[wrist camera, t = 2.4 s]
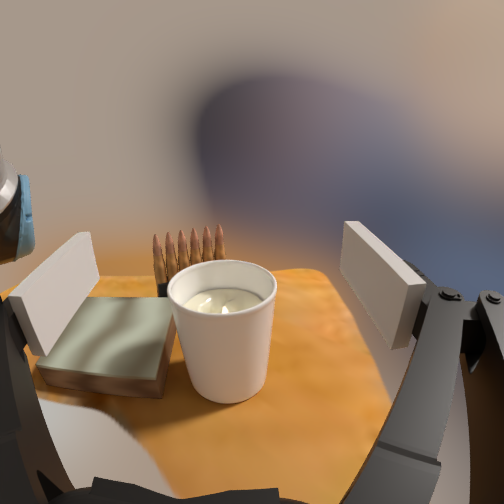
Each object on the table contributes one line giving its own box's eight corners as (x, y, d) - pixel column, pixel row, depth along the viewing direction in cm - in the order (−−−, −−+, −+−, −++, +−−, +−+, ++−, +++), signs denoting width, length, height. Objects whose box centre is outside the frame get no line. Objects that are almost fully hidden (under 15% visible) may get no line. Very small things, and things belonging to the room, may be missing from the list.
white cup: (278, 353, 36) (283, 263, 31) (264, 417, 27) (267, 321, 22) (200, 342, 38) (190, 255, 33) (171, 399, 29) (147, 305, 24)
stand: (46, 384, 28) (35, 364, 26) (86, 315, 42) (80, 296, 40) (162, 398, 29) (155, 377, 27) (179, 317, 42) (175, 297, 41)
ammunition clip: (161, 315, 43) (149, 238, 38) (159, 308, 44) (147, 233, 39) (230, 299, 47) (227, 225, 42) (225, 293, 48) (223, 221, 43)
